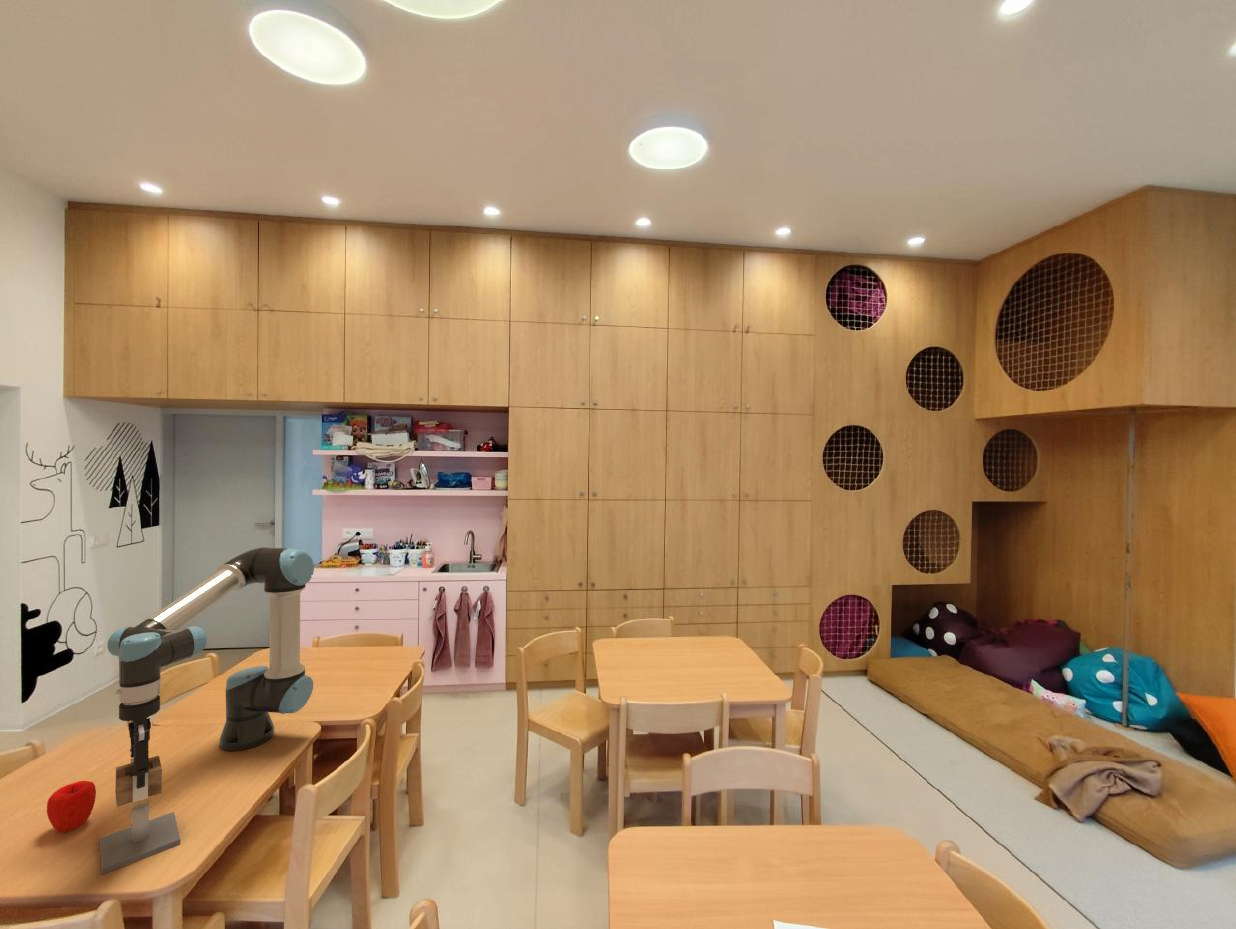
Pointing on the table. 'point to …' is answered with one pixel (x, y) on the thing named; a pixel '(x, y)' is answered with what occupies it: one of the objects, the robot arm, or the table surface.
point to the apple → (71, 805)
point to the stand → (138, 839)
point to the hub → (126, 782)
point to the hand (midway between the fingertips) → (139, 791)
